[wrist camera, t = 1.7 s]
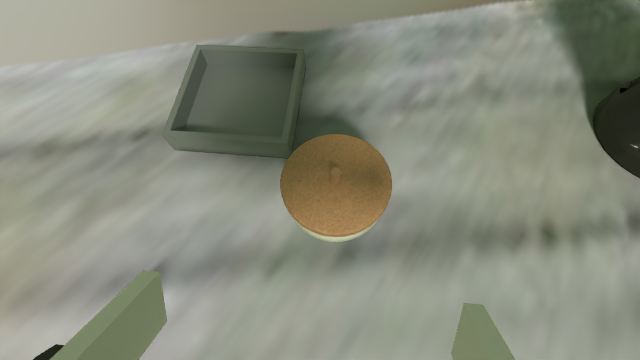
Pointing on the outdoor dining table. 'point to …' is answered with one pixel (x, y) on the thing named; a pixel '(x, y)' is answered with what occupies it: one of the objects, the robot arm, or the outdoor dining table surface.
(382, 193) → the lidded jar
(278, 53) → the bin
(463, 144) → the outdoor dining table surface
